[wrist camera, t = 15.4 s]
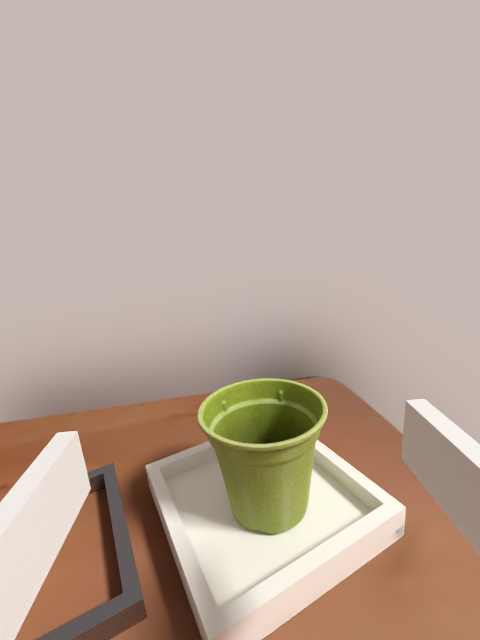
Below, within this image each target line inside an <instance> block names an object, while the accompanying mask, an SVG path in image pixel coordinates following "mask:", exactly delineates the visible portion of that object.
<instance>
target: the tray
mask: <svg viewBox="0 0 480 640" xmlns="http://www.w3.org/2000/svg"><path fill="white" fill-rule="evenodd" d="M145 467H146V472H147V477H148V483H149V488H150V491H151V494H152V497H153V500H154V502H155V505H156V508H157V511H158V514H159V517H160V520H161V523H162V526H163V528H164V531H165V534H166V537H167V540H168V543H169V546H170V549H171V552H172V554H173V557H174V560H175V563H176V566H177V569H178V572H179V575H180V578H181V580H182V583H183V586H184V589H185V592H186V595H187V598H188V601H189V604H190V606H191V609H192V612H193V615H194V618H195V621H196V624H197V627H198V630H199V632H200V635H201V638H202V640H262V639H263V638H265V637H266V636H267V635H269V634H270V633H272V632H273V631H274V630H276V629H277V628H278V627H280V626H281V625H282V624H284V623H285V622H287V621H288V620H289V619H291V618H292V617H293V616H295V615H296V614H297V613H299V612H300V611H302V610H303V609H304V608H306V607H307V606H308V605H310V604H311V603H312V602H314V601H315V600H317V599H318V598H319V597H321V596H322V595H323V594H325V593H326V592H327V591H329V590H330V589H332V588H333V587H334V586H336V585H337V584H338V583H340V582H341V581H342V580H344V579H345V578H347V577H348V576H349V575H351V574H352V573H353V572H355V571H356V570H357V569H359V568H360V567H362V566H363V565H364V564H366V563H367V562H368V561H370V560H371V559H372V558H374V557H375V556H377V555H378V554H379V553H381V552H382V551H383V550H385V549H386V548H387V547H389V546H390V545H392V544H393V543H394V542H396V541H397V540H398V539H400V538H401V537H402V536H404V528H405V513H406V507H405V506H404V505H402V504H401V503H400V502H398V501H397V500H396V499H394V498H393V497H392V496H390V495H389V494H388V493H387V492H385V491H384V490H383V489H381V488H380V487H379V486H377V485H376V484H375V483H373V482H372V481H371V480H369V479H368V478H367V477H366V476H364V475H363V474H362V473H360V472H359V471H358V470H356V469H355V468H354V467H352V466H351V465H350V464H349V463H347V462H346V461H345V460H343V459H342V458H341V457H339V456H338V455H337V454H335V453H334V452H333V451H331V450H330V449H329V448H328V447H326V446H325V445H324V444H322V443H321V442H320V441H318V440H317V441H316V444H315V452H314V459H313V467H312V475H311V483H310V492H309V500H308V506H307V510H306V513H305V515H304V517H303V519H302V520H301V521H300V522H299V523H298V524H297V525H296V526H295V527H293V528H291V529H289V530H287V531H285V532H282V533H277V534H269V533H266V532H264V531H260V530H249V529H247V528H246V527H244V526H243V525H242V524H241V523H240V522H239V521H238V520H237V519H236V517H235V516H234V514H233V511H232V508H231V504H230V501H229V498H228V494H227V490H226V486H225V483H224V479H223V476H222V472H221V469H220V466H219V462H218V459H217V456H216V453H215V449H214V448H213V447H212V445H211V444H210V442H209V441H207V442H205V443H202V444H200V445H197V446H194V447H192V448H189V449H187V450H184V451H181V452H179V453H176V454H174V455H171V456H168V457H166V458H163V459H161V460H158V461H155V462H153V463H150V464H148V465H145Z"/></svg>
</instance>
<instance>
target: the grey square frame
mask: <svg viewBox="0 0 480 640" xmlns="http://www.w3.org/2000/svg"><path fill="white" fill-rule="evenodd" d="M87 474H88V478H89V483H90V487H91V489H90V491H89V493H92V492H94V491H97V490H99V489H102V488H104V487H106V492H107V498H108V504H109V511H110V517H111V523H112V529H113V535H114V541H115V547H116V553H117V559H118V565H119V572H120V578H121V584H122V590H123V593H122V594H120V595H118V596H116V597H114V598H113V599H111V600H109V601H107V602H105V603H103V604H101V605H100V606H98V607H96V608H94V609H92V610H90V611H88V612H87V613H85V614H83V615H81V616H79V617H77V618H76V619H74V620H72V621H70V622H68V623H66V624H64V625H63V626H61V627H59V628H57V629H55V630H53V631H51V632H50V633H48V634H46V635H44V636H42V637H40V638H38V639H37V640H109V639H111V638H113V637H114V636H116V635H118V634H119V633H121V632H123V631H124V630H126V629H128V628H130V627H131V626H133V625H135V624H136V623H138V622H140V621H141V620H143V619H145V618H147V615H146V611H145V606H144V601H143V597H142V592H141V588H140V583H139V578H138V574H137V569H136V565H135V560H134V555H133V551H132V546H131V542H130V537H129V533H128V528H127V523H126V519H125V514H124V510H123V505H122V500H121V496H120V491H119V487H118V482H117V478H116V473H115V468H114V464H113V463H112V464H109V465H107V466H104V467H101V468H98V469H96V470H93V471H90V472H87ZM89 493H88V494H89Z"/></svg>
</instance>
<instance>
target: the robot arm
mask: <svg viewBox="0 0 480 640" xmlns="http://www.w3.org/2000/svg"><path fill="white" fill-rule="evenodd" d="M401 458H402V460H403V461H404V462H405V463H406V465H407V466H408V467H409V468H410V470H411V471H412V472H413V473H414V475H415V476H416V477H417V478H418V480H419V481H420V482H421V483H422V485H423V486H424V487H425V489H426V490H427V491H428V492H429V494H430V495H431V496H432V497H433V499H434V500H435V501H436V502H437V504H438V505H439V506H440V507H441V509H442V510H443V511H444V512H445V514H446V515H447V516H448V517H449V519H450V520H451V521H452V523H453V524H454V525H455V526H456V528H457V529H458V530H459V531H460V533H461V534H462V535H463V536H464V538H465V539H466V540H467V541H468V543H469V544H470V545H471V546H472V548H473V549H474V550H475V552H476V553H477V554H478V555H479V557H480V445H479V444H478V443H477V442H476V441H475V440H474V439H472V438H471V437H470V436H469V435H467V434H466V433H465V432H464V431H463V430H461V429H460V428H459V427H458V426H457V425H455V424H454V423H453V422H452V421H450V420H449V419H448V418H447V417H446V416H445V415H443V414H442V413H441V412H440V411H438V410H437V409H436V408H435V407H434V406H432V405H431V404H430V403H429V402H428V401H426V400H425V399H417V400H407V401H406V406H405V418H404V430H403V443H402V456H401ZM90 489H91V487H90V483H89V478H88V474H87V470H86V466H85V462H84V457H83V453H82V449H81V445H80V441H79V436H78V432H77V431H70V432H60V433H57V434H56V435H55V436H54V437H53V439H52V440H51V441H50V442H49V443H48V445H47V446H46V447H45V448H44V450H43V451H42V452H41V453H40V454H39V456H38V457H37V458H36V459H35V461H34V462H33V463H32V464H31V466H30V467H29V468H28V469H27V470H26V472H25V473H24V474H23V475H22V477H21V478H20V479H19V480H18V481H17V483H16V484H15V485H14V486H13V488H12V489H11V490H10V491H9V493H8V494H7V495H6V496H5V497H4V499H3V500H2V501H1V502H0V640H14V639H15V637H16V635H17V633H18V631H19V629H20V628H21V626H22V624H23V622H24V620H25V618H26V616H27V614H28V612H29V610H30V608H31V606H32V604H33V602H34V600H35V598H36V596H37V594H38V592H39V590H40V588H41V586H42V584H43V582H44V580H45V578H46V576H47V574H48V572H49V570H50V568H51V566H52V564H53V562H54V560H55V558H56V557H57V555H58V553H59V551H60V549H61V547H62V545H63V543H64V541H65V539H66V537H67V535H68V533H69V531H70V529H71V527H72V525H73V523H74V521H75V519H76V517H77V515H78V513H79V511H80V509H81V507H82V505H83V503H84V501H85V499H86V497H87V495H88V493H89V491H90Z"/></svg>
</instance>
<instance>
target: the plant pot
mask: <svg viewBox="0 0 480 640" xmlns="http://www.w3.org/2000/svg"><path fill="white" fill-rule="evenodd" d="M327 414H328V408H327V404H326V402H325V400H324V399H323V397H322V396H321V395H320V394H319V393H318V392H317V391H315V390H314V389H311V388H310V387H308V386H306V385H304V384H300V383H297V382H294V381H290V380H283V379H253V380H247V381H242V382H238V383H234V384H231V385H228V386H225V387H223V388H221V389H219V390H217V391H216V392H214V393H212V394H211V395H210V396H208V397H207V398H206V399H205V401H203V403H202V404H201V406H200V408H199V410H198V423H199V426H200V428H201V429H202V431H203V432H204V433H205V434H206V435H207V436H208V439H209V442H210V444H211V445H212V447H213V448H214V449H215V453H216V456H217V459H218V462H219V466H220V469H221V472H222V476H223V479H224V483H225V486H226V490H227V494H228V498H229V501H230V504H231V508H232V511H233V514H234V516H235V517H236V519H237V520H238V521H239V522H240V523H241V524H242V525H243V526H244V527H246V528H247V529H249V530H260V531H264V532H266V533H269V534H277V533H282V532H285V531H287V530H289V529H291V528H293V527H295V526H296V525H297V524H298V523H299V522H300V521H301V520H302V519H303V517H304V515H305V513H306V510H307V506H308V500H309V492H310V483H311V475H312V467H313V459H314V452H315V444H316V441H317V439H318V437H319V434H320V429H321V428H322V427H323V425H324V423H325V421H326V419H327Z"/></svg>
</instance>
